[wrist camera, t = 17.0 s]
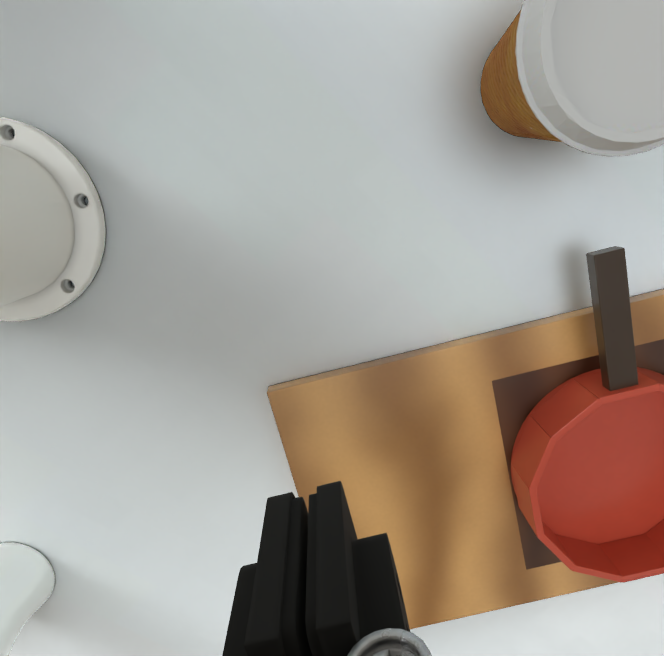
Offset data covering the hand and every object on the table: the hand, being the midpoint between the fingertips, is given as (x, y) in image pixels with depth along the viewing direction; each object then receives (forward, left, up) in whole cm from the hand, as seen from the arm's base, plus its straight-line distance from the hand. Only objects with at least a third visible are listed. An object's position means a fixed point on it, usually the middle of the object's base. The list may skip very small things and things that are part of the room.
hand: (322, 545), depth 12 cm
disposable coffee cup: (+16, +10, -25) cm, 32 cm away
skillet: (+17, -12, -24) cm, 32 cm away
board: (+11, -16, -25) cm, 32 cm away
